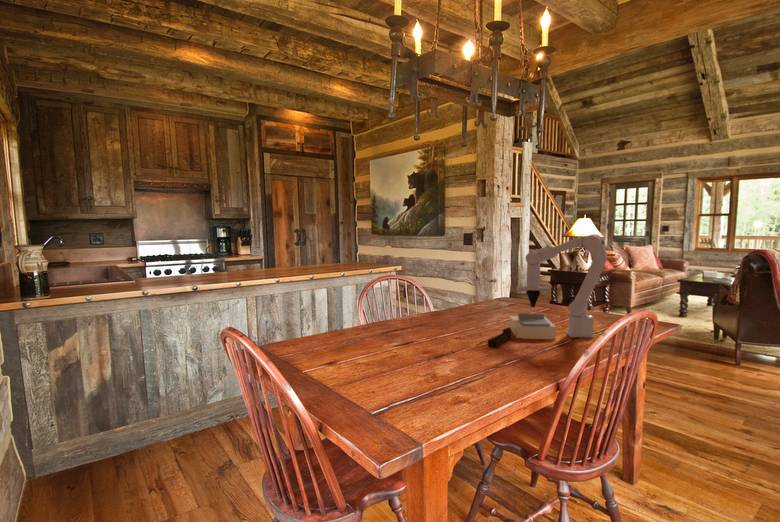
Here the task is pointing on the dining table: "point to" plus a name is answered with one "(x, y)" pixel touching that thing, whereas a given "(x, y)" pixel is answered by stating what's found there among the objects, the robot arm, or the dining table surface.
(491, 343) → the hand tool
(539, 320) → the cover
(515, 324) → the housing
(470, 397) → the dining table surface
